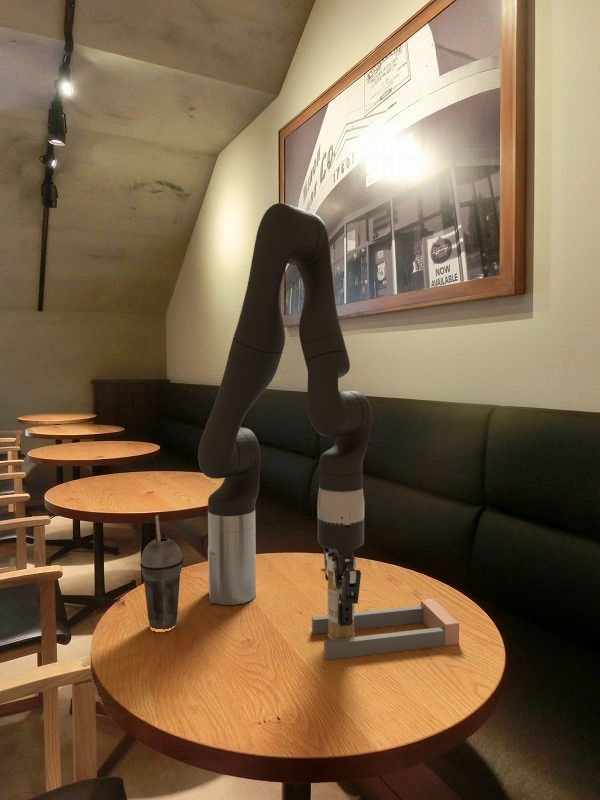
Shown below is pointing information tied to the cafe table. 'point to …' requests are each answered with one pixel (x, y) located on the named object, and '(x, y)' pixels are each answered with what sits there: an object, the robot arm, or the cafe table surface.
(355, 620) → the guide channel
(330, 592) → the sprinkles bottle
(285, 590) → the cafe table surface
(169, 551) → the beverage cup
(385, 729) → the cafe table surface
